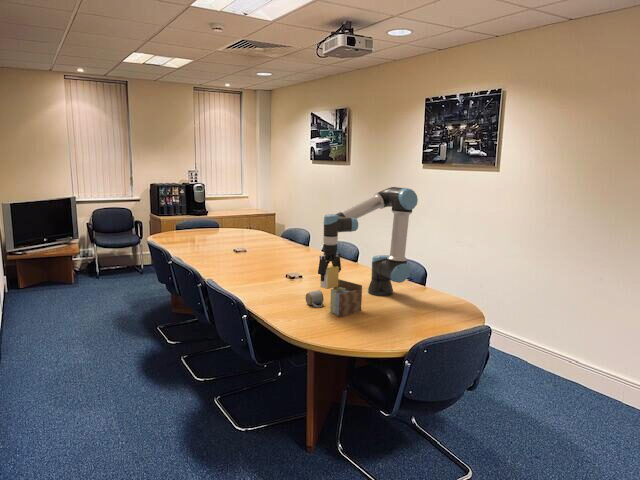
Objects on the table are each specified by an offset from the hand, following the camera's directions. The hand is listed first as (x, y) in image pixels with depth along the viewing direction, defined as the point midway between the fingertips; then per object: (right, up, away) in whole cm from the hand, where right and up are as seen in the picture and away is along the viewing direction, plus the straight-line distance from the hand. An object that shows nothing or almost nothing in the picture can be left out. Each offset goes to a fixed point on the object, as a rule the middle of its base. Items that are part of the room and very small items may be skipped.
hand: (329, 285), depth 254 cm
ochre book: (0, -1, 0) cm, 1 cm away
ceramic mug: (-7, -12, +9) cm, 17 cm away
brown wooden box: (+4, -13, +2) cm, 14 cm away
